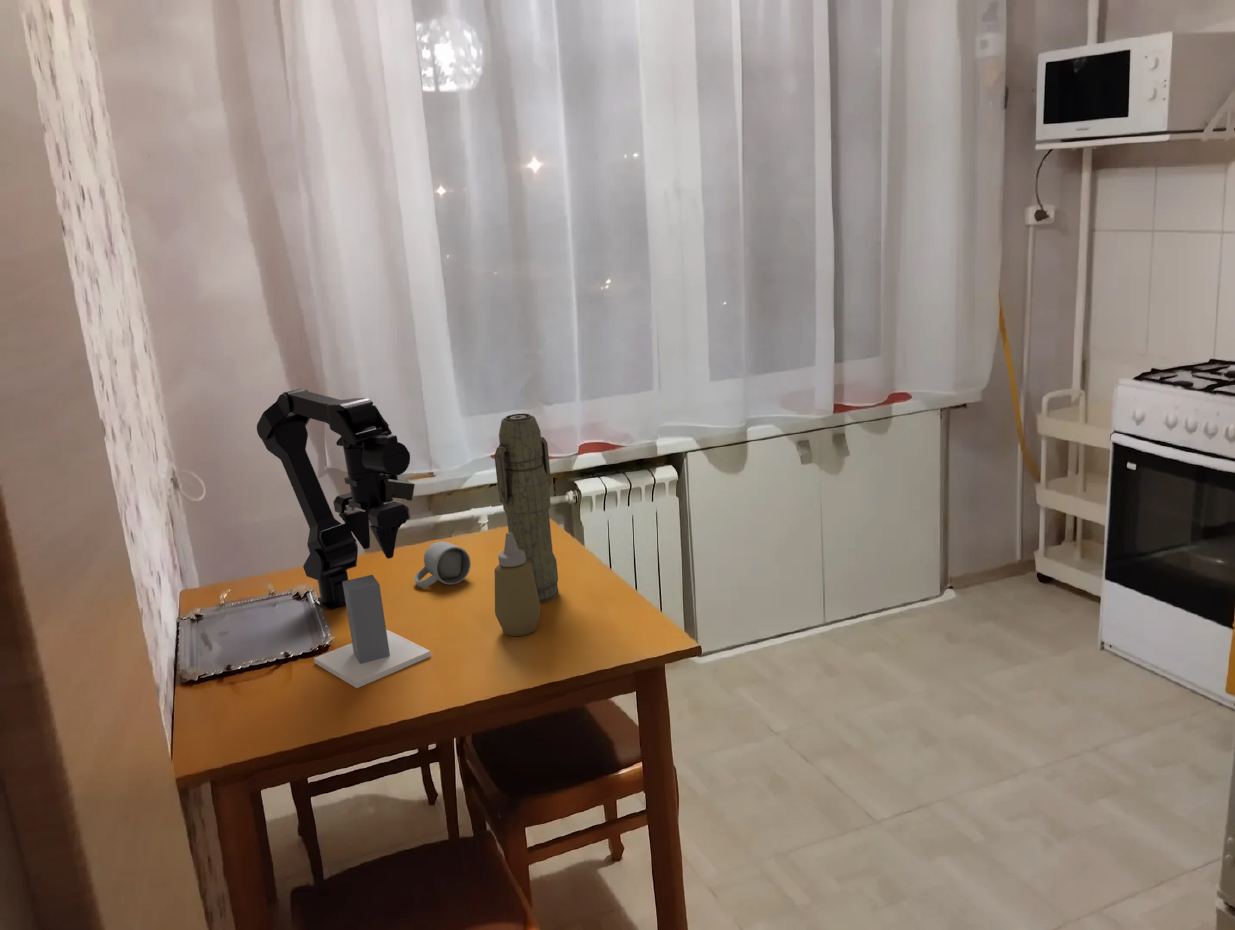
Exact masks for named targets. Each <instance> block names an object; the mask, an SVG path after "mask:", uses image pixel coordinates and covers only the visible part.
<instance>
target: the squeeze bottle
mask: <svg viewBox="0 0 1235 930" xmlns="http://www.w3.org/2000/svg"><path fill="white" fill-rule="evenodd" d="M497 557H498V564H497V566H496V567H495V568H494V614H495V618H496V619H497V622H498V623H499V626H500V628H501V630H502V632H503V634H505V635H508V636H512V637H519V636H526V635H529V634H531V633H533V632H534V631H536V629H537V628H538V623H539V618H540V615H541V614H540V613H541V611H542V607H541V603H540V602H539V597H538V593H537V588H536V583H535V579H534V574H533V569H532V565H531V564H530V563H529V562H527V561H526V556H525V551H523V550H521V549H518V547H517V544H516V541H515V538H514V535H513V533H512V532H507V533H505V540H504V549H503V550H502V551H500V552H499V553H498V556H497Z"/></svg>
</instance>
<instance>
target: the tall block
mask: <svg viewBox="0 0 1235 930" xmlns="http://www.w3.org/2000/svg"><path fill="white" fill-rule="evenodd" d="M343 589H344V595H345V601H346V604H345V607H346V612H347V618H348V619H347V620H348V624H349V632H350V638H351V643H352V646H353V652H354V654H355V656H356V658H357V659H358V661H359V663H360V664H362V663H366V662H370V661H373V660H377V659H381V658H385V657H388V656H390V652H389V645H388V639H387V632H386V629H387V628H386V619H385V614H384V613H385V612H384V605H383V599H382V593H381V585H380V582H379V581H378V580H377V578H375V576H374V575H373V574H369V575H365V576H361V577H356V578H351V579H348V580H347V581H343Z"/></svg>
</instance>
